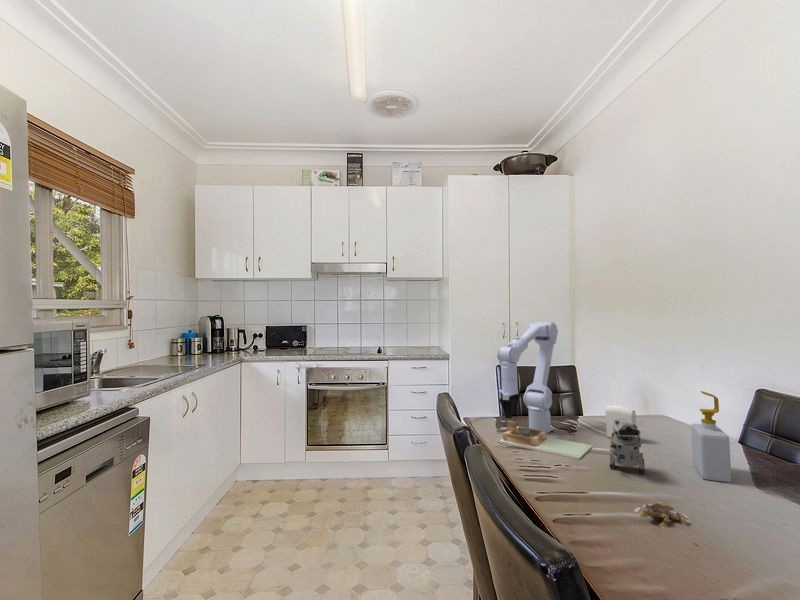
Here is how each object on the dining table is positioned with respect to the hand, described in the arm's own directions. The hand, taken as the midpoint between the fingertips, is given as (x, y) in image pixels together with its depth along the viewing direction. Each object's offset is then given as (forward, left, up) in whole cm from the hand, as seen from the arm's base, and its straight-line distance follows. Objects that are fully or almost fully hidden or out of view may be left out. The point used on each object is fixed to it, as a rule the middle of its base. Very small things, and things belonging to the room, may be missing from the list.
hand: (510, 415), depth 148 cm
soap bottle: (-6, +58, -10) cm, 59 cm away
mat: (-2, +18, -9) cm, 20 cm away
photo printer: (-25, +31, -10) cm, 42 cm away
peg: (-2, +4, -9) cm, 10 cm away
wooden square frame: (-2, +4, -9) cm, 10 cm away
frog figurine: (+31, +51, -10) cm, 60 cm away
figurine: (+7, +39, -10) cm, 41 cm away
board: (-2, +11, -9) cm, 15 cm away
